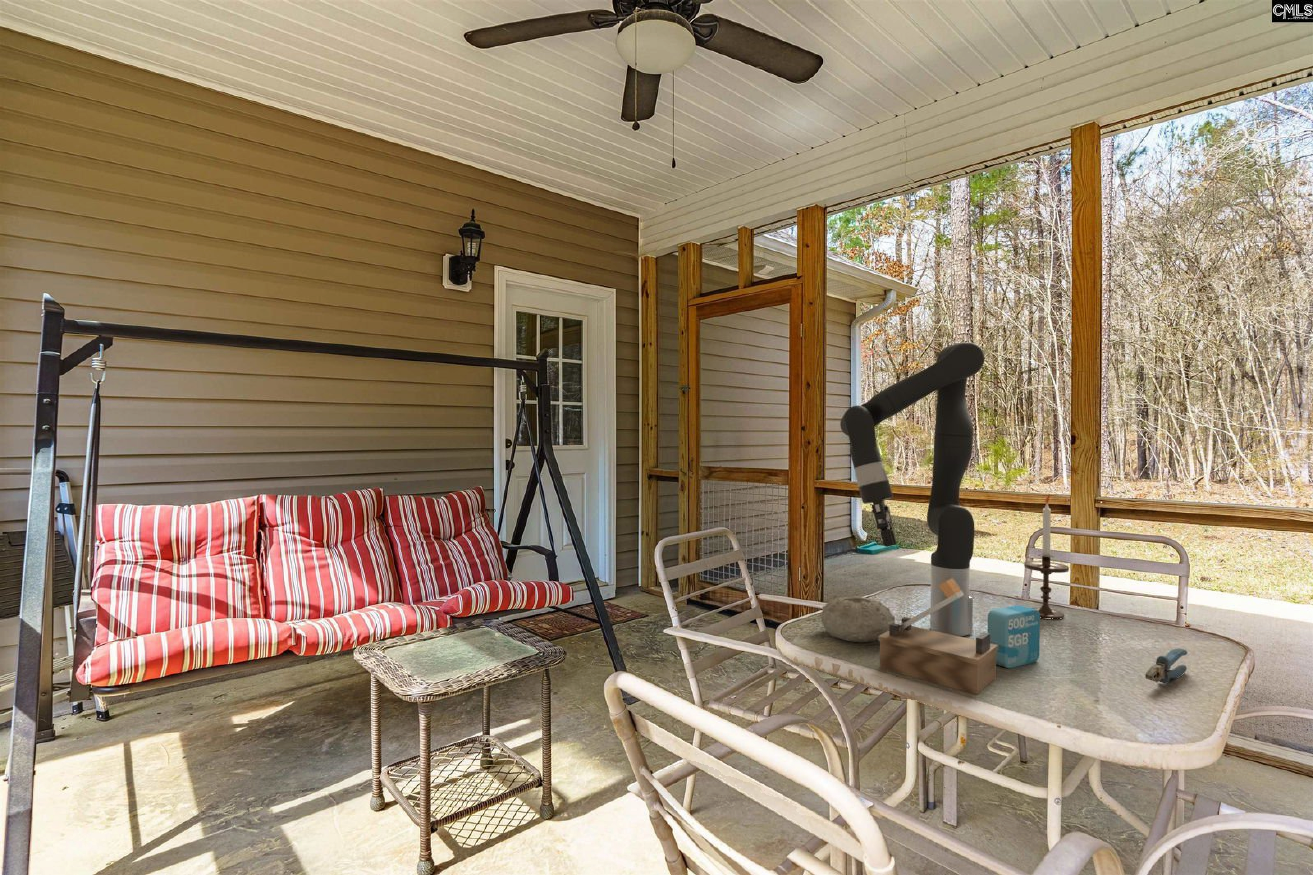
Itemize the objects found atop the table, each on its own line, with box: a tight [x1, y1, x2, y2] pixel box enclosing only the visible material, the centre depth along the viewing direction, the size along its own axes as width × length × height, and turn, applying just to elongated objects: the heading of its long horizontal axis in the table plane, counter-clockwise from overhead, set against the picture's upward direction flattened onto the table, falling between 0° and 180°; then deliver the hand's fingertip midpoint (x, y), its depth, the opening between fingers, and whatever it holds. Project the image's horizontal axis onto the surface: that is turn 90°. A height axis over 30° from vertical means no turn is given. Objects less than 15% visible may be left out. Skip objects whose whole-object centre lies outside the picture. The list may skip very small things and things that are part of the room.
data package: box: [986, 604, 1041, 669], centre depth 143 cm, size 12×4×12 cm, turn 116°
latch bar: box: [900, 578, 964, 632], centre depth 138 cm, size 17×4×4 cm
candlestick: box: [1023, 493, 1070, 619], centre depth 180 cm, size 11×11×35 cm
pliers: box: [1144, 648, 1188, 684], centre depth 132 cm, size 20×2×6 cm, turn 124°
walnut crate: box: [877, 616, 998, 695], centre depth 136 cm, size 21×13×10 cm, turn 46°
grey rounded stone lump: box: [820, 595, 896, 643], centre depth 159 cm, size 18×18×10 cm
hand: (890, 545), depth 157 cm, fingers open, 8 cm apart
